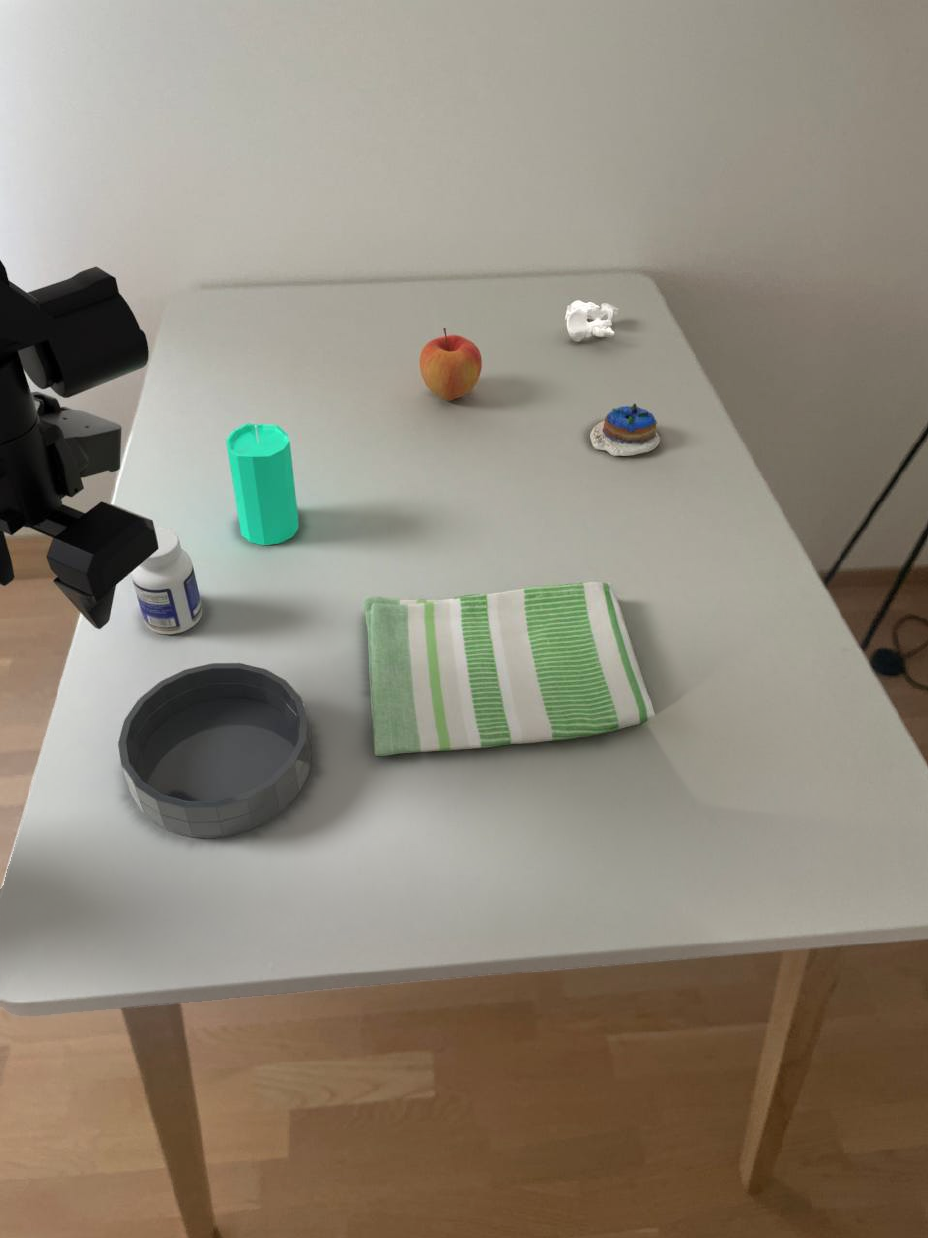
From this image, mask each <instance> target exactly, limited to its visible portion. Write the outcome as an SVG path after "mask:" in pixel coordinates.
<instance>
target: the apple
mask: <svg viewBox="0 0 928 1238" xmlns="http://www.w3.org/2000/svg"><path fill="white" fill-rule="evenodd" d="M442 330H443V333H444V335H443V336H440V337H436V338H434V339H432V340H430V341H428V342H427V343H426V344H425V345H424V346H423V347H422V350H421V351H420V356H419V370H420V371H419V372H420V374H421V377H422V380H423V382H424V384H425V386H426V387H427V388H428V389H429V391H431V392H432V393H433V394H435V395H437V396H438V397H440V398H442V399H444V400H445V401H447V402H451V401H453V400H455V399H457V398H460V397H462V396H466V395H467V394H468V393H469V392H471V391H472V390H473V389H474V388H475V386H476V384H477V383H478V381H479V378H480V375H481V373H482V367H483V360H482V354H481V351H480V349H479V347H478V346H477V345H476V344H475V343H474V342H473V341H472V340H470V339H468V338H466V337H464V336H461V335H457V334H447V328H446V327H443V328H442Z"/></svg>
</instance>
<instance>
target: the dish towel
mask: <svg viewBox="0 0 928 1238" xmlns="http://www.w3.org/2000/svg"><path fill="white" fill-rule="evenodd" d="M363 611H364V616H365V624H366V630H367V647H368V671H369V672H368V673H369V691H370V693H369V694H370V705H371V706H370V707H371V716H372V717H371V718H372V730H373V745H374V746H373V747H374V756H376V757H380V756H381V757H386V756H392V755H393V756H394V755H398V754H408V753H409V754H410V753H425V752H436V751H437V752H439V751H440V752H442V751H443V752H444V751H446V752H447V751H457V750H458V751H459V750H470V749H471V750H472V749H483V748H493V747H494V748H495V747H500V746H506V745H507V746H508V745H514V744H515V745H516V744H517V745H518V744H521V745H522V744H532V743H533V744H535V743H543V742H555V741H557V742H558V741H565V740H571V739H577V738H584V737H592V736H598V735H599V736H600V735H602V734H605V733H611V732H614V731H618V730H621V729H624V728H628V727H632V726H633V727H634V726H636V725H642V724H644V723H647V722H649V721H650V720H652V719H654V718H655V717H656V715H655V711H654V707H653V703H652V700H651V697H650V696H649V693H648V690H647V687H646V684H645V681H644V677H643V675H642V672H641V668H640V665H639V663H638V659H637V656H636V653H635V650H634V647H633V643H632V641H631V637H630V634H629V631H628V628H627V625H626V621H625V619H624V616H623V612H622V609H621V605H620V603H619V601H618V599H617V596H616V593H615V591H614V589H613V585H612V584H611V582H600V581H588V582H578V583H577V582H576V583H565V584H552V585H544V586H535V587H526V588H522V589H521V588H520V589H514V590H507V591H501V592H494V593H486V594H482V593H476V594H465V595H461V596H456V597H453V598H446V599H445V598H444V599H400V598H393V597H385V596H367V597H365V598H364V600H363Z"/></svg>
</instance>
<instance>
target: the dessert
mask: <svg viewBox="0 0 928 1238" xmlns="http://www.w3.org/2000/svg"><path fill="white" fill-rule="evenodd" d="M657 422H658V420H656V418H655V416H654V414H653V413H652V412H650V411H648V410H647V409H645V408H640V407H639V406H637V404H636V403H635V402H634V403H633V404H632V405H631V406H629V405H625V406H618V407H616V408H612V409H611V411H610V412H608V414H606V416H605V417H604V419H603V420H602V421H601V422H599V423H598V424H596V425H595V426H594V427H593V428H592V430H591V431H590V434H589V438H590V442H591V445H592V447H593V448H594V449H595V450H600V451H606V452H607V453H608V454H610V455H611V456H613V457H616V456H617V457H619V456H622V457H624V456H625V457H626V456H635V455H639V454H644V453H649V452H650V451H653V450H654V449H656V447H658V445H659V444H660V443H661V437H660V435H659V434H658V433H657V424H658V423H657Z"/></svg>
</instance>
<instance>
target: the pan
mask: <svg viewBox="0 0 928 1238" xmlns="http://www.w3.org/2000/svg"><path fill="white" fill-rule="evenodd" d="M309 723H310V722H309V717H308V714H307V711H306V708H305V704H304V701H303V698H302V697H301V696H300V695H299V693H298V692H297V691H296V690H295V689H294V688H293V686H292V685H291V684H290V683H289V682H288V681H287V680H286V679H284V678H282V677H280V676H279V675H277V674H276V673H273V672H272V671H270V670H268V669H266V668H263V667H258V666H254V665H251V664H246V663H242V662H213V663H208V664H203V665H199V666H195V667H189V668H187V669H183V670H181V671H179V672H177V673H175V674H173V675H171V676H169V677H167V678H164V679H163V680H160V681H159V682H158V683H156V684H155V685H154V686H152V687H151V688H150V689H149V690H148V691H147V692H145V693H144V694H143V695H142V696H141V697H139V698H138V699H137V701H136V702H135V703H134V705H133V706H132V708H131V709H130V711H129V712H128V714H127V715H126V716H125V718H124V720H123V722H122V728H121V731H120V734H119V738H118V743H117V747H118V753H119V761H120V765H121V769H122V771H123V774H124V778H125V781H126V783H127V786H128V788H129V792H130V794H131V796H132V798H133V799H134V801H135V803H136V805H137V807H138V808H139V809H140V811H141V812H142V813H143V814H144V815H145V817H147V818H148V819H149V820H150V821H151V822H153V823H154V824H156V825H157V826H159V827H161V828H163V829H164V830H166V831H168V832H171V833H174V834H177V835H179V836H185V837H189V838H197V839H216V838H217V839H218V838H226V837H230V836H231V837H232V836H234V835H239V834H242V833H245V832H249V831H252V830H253V829H256V828H258V827H260V826H262V825H264V824H266V823H268V822H269V821H271V820H272V819H274V818H275V817H277V816H278V815H279V814H280V813H282V812H283V811H284V810H285V809H287V807H288V806H289V805H290V804H291V803H292V802H293V801H294V799H295V798H297V796H298V795H299V793H300V792H301V790H302V788H303V787H304V786H305V783H306V781H307V778H308V776H309V772H310V769H311V763H312V749H313V748H312V740H311V732H310V731H311V730H310V724H309Z"/></svg>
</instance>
